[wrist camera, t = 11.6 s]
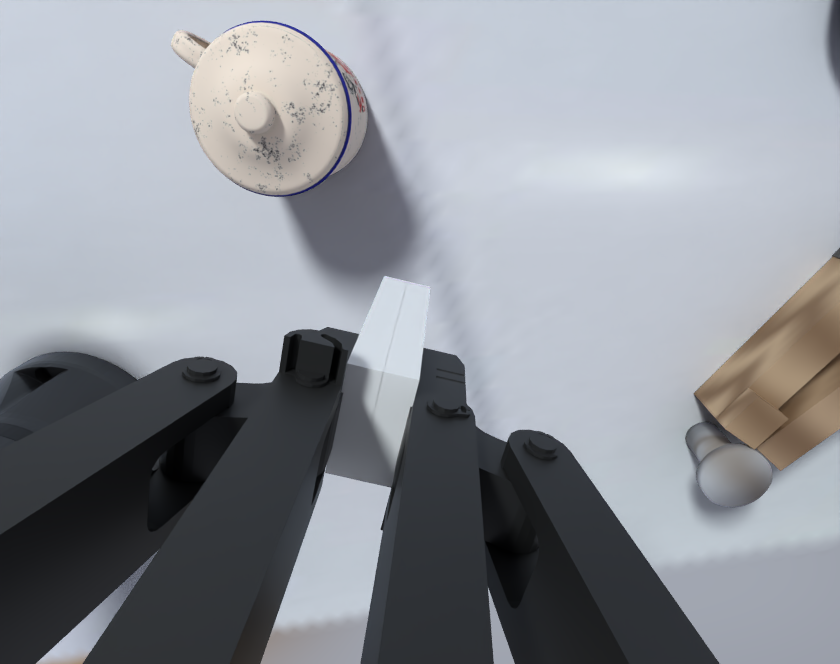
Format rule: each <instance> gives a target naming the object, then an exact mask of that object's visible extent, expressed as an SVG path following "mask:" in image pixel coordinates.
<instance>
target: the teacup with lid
mask: <svg viewBox="0 0 840 664" xmlns="http://www.w3.org/2000/svg"><path fill="white" fill-rule="evenodd" d="M171 47H172V49H173V50H174V52H175V53H176V54H177V55H178V56H179V57H180V58H181V59H183V60H184V61H185V62H186V63H188V64H189V65H191V66H192V67H193V68H195V70H194V73H193V76H192V80H191V85H190V93H189V107H190V115H191V121H192V125H193V128H194V131H195V134H196V137H197V139H198V141H199V143H200V146H201V147H202V149H203V151H204V153H205V154H206V155H207V157H208V158H209V160H210V161H211V162H212V163H213V165H214V166H215V167H216V168H217V169H218V170H219V171H220V172H221V173H222V174H223V175H225V176H226V177H227V178H228V179H230V180H231V181H232V182H234V183H235V184H237V185H239V186H240V187H242V188H244V189H246V190H249V191H251V192H254V193H257V194H261V195H266V196H274V197H284V196H292V195H296V194H300V193H303V192H306V191H308V190H310V189H312V188H314V187H315V186H317V185H319V184H320V183H321V182H323V181H324V180H325V179H326V178H327V177H328V176H330V175H332V174H334V173H336V172H338V171H340V170H341V169H343V168H344V167H345V166H346V165H348V164H349V163H350V162H351V161H352V159H353V158H354V157H355V156H356V154H357V153H358V151H359V149H360V147H361V145H362V143H363V140H364V137H365V134H366V129H367V118H368V114H367V105H366V100H365V96H364V93H363V90H362V88H361V86H360V83H359V82H358V80H357V78H356V76H355V75H354V74H353V72H352V71H351V70H350V68H349V67H348V66H347V65H346V64H345V63H344V62H343V61H342V60H340V59H339V58H338V57H336V56H335V55H333V54H332V53H330V52H328V51H326V50H325V49H324V48H323V47H322V46H321V45H320V44H319V43H318V42H316V41H315V40H314V39H313V38H311V37H310V36H308V35H307V34H305V33H304V32H302V31H300V30H298V29H296V28H294V27H291V26H289V25H286V24H282V23H278V22H272V21H253V22H247V23H243V24H240V25H237V26H235V27H233V28H230V29H229V30H227V31H225V32H224V33H222V34H221V35H220V36H218V37H217V38H216V39H215V40H214V41H213V42H212V43H210V42H208V41H206V40H204V39H203V38H201V37H199V36H197V35H194V34H192V33H190V32H187V31H184V30H179V31H177V32H176V33H175V34H174V36H173V39H172V41H171Z"/></svg>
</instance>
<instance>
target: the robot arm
mask: <svg viewBox="0 0 840 664" xmlns="http://www.w3.org/2000/svg"><path fill="white" fill-rule="evenodd" d="M430 288H431V287H429V286H425V285H421V284H417V283H412V282H408V281H404V280H400V279H396V278H391V277H387V276H384V278H383V280H382V282H381V285H380V287H379V289H378V292H377V294H376V296H375V299H374V301H373V303H372V306H371V308H370V311H369V313H368V315H367V318H366V320H365V322H364V325H363V327H362V329H361V332H360V334H356V333H351V332H347V331H343V330H338V329H334V328H330V327H326V328H324V329H322V330H320V331H318V330H312V329H309V330H296V331H292V332H289V333H288V334H286V335H285V336H284V342H283V349H282V355H281V362H280V369H279V373H278V374H277V376H276V377H275V379H274V380H273V381H272V382H271V383H263V384H251V383H236V382H237V371H236V370H235V369H234V368H233V367H232V366H231V365H229V364H227V363H225V362H223V361H220V360H216V359H213V358H209V357H205V358H204V357H195V358H185V359H181V360H178V361H175V362H173V363H171V364H169V365H167V366H165V367H163V368H161V369H159V370H157V371H155V372H153V373H151V374H149V375H147V376H145V377H143V378H141V379H139V380H136V379H135V378H133V377H132V376H131V375H129V374H128V373H127V372H125V371H124V370H122V369H120V368H119V367H117V366H115V365H113V364H111V363H109V362H107V361H105V360H102V359H100V358H97V357H94V356H90V355H86V354H81V353H74V352H55V353H48V354H44V355H40V356H37V357H35V358H33V359H31V360H29V361H27V362H25V363H23V364H22V365H20V366H18V367H17V368H15V369H13V370H11V371H10V372H8V373H7V374H6V375H4V376H3V377H2V378H1V379H0V664H36V663H37V662H38V661H39V660H40V659H41V658H42V657H43V656H44V655H45V654H46V653H48V652H49V651H50V650H51V649H52V648H53V647H54V646H55V645H56V644H57V643H58V642H59V641H60V640H62V639H63V638H64V637H65V636H66V635H67V634H68V633H69V632H70V631H71V630H72V629H73V628H75V627H76V626H77V625H78V624H79V623H80V622H81V621H82V620H83V619H84V618H85V617H86V616H87V615H89V614H90V613H91V612H92V611H93V610H94V609H95V608H96V607H97V606H98V605H99V604H100V603H102V602H103V601H104V600H105V599H106V598H107V597H108V596H109V595H110V594H111V593H112V592H113V591H114V590H116V589H117V588H118V587H119V586H120V585H121V584H122V583H123V582H124V581H125V580H126V579H127V578H128V577H130V576H131V575H132V574H133V573H134V572H135V571H136V570H137V569H138V568H139V567H140V566H141V565H143V564H144V563H145V562H146V561H147V560H148V559H149V558H150V557H151V556H152V555H153V554H154V553H155V552H157V551H158V550H159V551H158V552H157V554H156V555H155V557H154V558H153V560H152V561H151V563H150V564H149V566H148V567H147V569H146V570H145V572H144V573H143V575H142V576H141V578H140V579H139V581H138V582H137V584H136V585H135V587H134V588H133V590H132V591H131V593H130V594H129V596H128V597H127V598H126V600H125V601H124V603H123V604H122V606H121V607H120V609H119V610H118V612H117V613H116V615H115V616H114V618H113V619H112V621H111V622H110V624H109V625H108V627H107V628H106V630H105V631H104V633H103V634H102V636H101V637H100V639H99V640H98V642H97V643H96V645H95V646H94V648H93V649H92V651H91V652H90V653H89V655H88V656H87V658H86V659H85V661H84V662H83V664H260V663H261V660H262V657H263V654H264V651H265V648H266V645H267V643H268V640H269V637H270V634H271V631H272V628H273V625H274V623H275V620H276V617H277V614H278V611H279V608H280V605H281V602H282V599H283V597H284V594H285V591H286V588H287V585H288V582H289V579H290V576H291V574H292V571H293V568H294V565H295V562H296V559H297V556H298V553H299V550H300V548H301V545H302V542H303V539H304V536H305V533H306V530H307V527H308V525H309V522H310V519H311V516H312V513H313V510H314V507H315V504H316V501H317V499H318V496H319V493H320V490H321V487H322V482H323V477H324V472H325V467H326V465H327V467H326V472H325V473H329V474H333V475H338V476H342V477H347V478H351V479H355V480H360V481H364V482H369V483H373V484H378V485H382V486H387V487H391V492H390V495H389V499H388V503H387V507H386V511H385V515H384V519H383V523H382V526H381V530H383V534H382V539H381V545H380V551H379V557H378V563H377V569H376V575H375V581H374V587H373V593H372V599H371V605H370V611H369V616H368V622H367V628H366V635H365V640H364V646H363V653H362V658H361V664H494V662H493V649H492V636H491V624H490V623H491V622H490V610H489V596H488V588H489V591H490V594H491V596H492V599H493V602H494V605H495V608H496V611H497V613H498V616H499V619H500V622H501V625H502V628H503V631H504V634H505V637H506V639H507V642H508V645H509V648H510V651H511V654H512V656H513V659H514V662H515V664H719V662H718V661H717V659H716V658H715V657H714V655H713V654H712V652H711V651H710V650H709V648H708V647H707V645H706V644H705V643H704V641H703V640H702V638H701V637H700V635H699V634H698V632H697V631H696V629H695V628H694V627H693V625H692V624H691V622H690V621H689V620H688V618H687V617H686V615H685V614H684V612H683V611H682V610H681V608H680V607H679V605H678V604H677V602H676V601H675V600H674V598H673V597H672V595H671V594H670V592H669V591H668V590H667V588H666V587H665V585H664V584H663V583H662V581H661V580H660V578H659V577H658V575H657V574H656V573H655V571H654V570H653V568H652V567H651V565H650V564H649V563H648V561H647V560H646V558H645V557H644V555H643V554H642V553H641V551H640V550H639V548H638V547H637V546H636V544H635V543H634V541H633V540H632V538H631V537H630V536H629V534H628V533H627V531H626V530H625V528H624V527H623V526H622V524H621V523H620V521H619V520H618V518H617V517H616V516H615V514H614V513H613V511H612V510H611V509H610V507H609V506H608V504H607V503H606V501H605V500H604V499H603V497H602V496H601V494H600V493H599V491H598V490H597V489H596V487H595V486H594V484H593V483H592V481H591V480H590V479H589V477H588V476H587V474H586V473H585V472H584V470H583V469H582V467H581V466H580V464H579V463H578V462H577V460H576V459H575V457H574V456H573V454H572V453H571V452H570V451H569V449H568V448H567V447H566V446H565V445H564V444H563V443H561V442H559V441H558V440H556V439H555V438H554V437H552V436H550V435H548V434H545V433H543V432H540V431H532V430H517V431H515V432H513V433H511V435H510V437H509V438H508V441H507V442H504V441H502V440H500V439H497V438H495V437H493V436H491V435H489V434H487V433H485V432H483V431H482V430H480V429H479V428H477V427H476V424H475V415H474V413H473V411H472V409H471V408H470V407H469V406H468V405H467V404H466V385H465V367H464V364H463V363H462V362H461V361H460V359H459V358H458V357H457V356H456V355H452V354H447V353H443V352H439V351H435V350H430V349H426V348H423V346H424V338H425V330H426V321H427V313H428V305H429V296H430Z"/></svg>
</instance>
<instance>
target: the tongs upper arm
mask: <svg viewBox="0 0 840 664" xmlns="http://www.w3.org/2000/svg"><path fill="white" fill-rule="evenodd" d="M832 256H833V257H832V258H831V259H830V260H829V261H828V262H827V263H826V264H825V265H824V266H823V267H822V268H821V269H820V270H819V271H818V272H817V273H816V274H815V275H814V276H813V277H812V278H811V279H810V280H809V281H808V282H807V283H806V284H805V285H804V286H803V287H802V288H801V289H799V290H798V291H797V292H796V293H795V294H794V295H793V296H792V297H791V298H790V299H789V300H788V301H787V302H786V303H785V304H784V305H783V306H782V307H781V308H780V309H779V310H778V311H777V312H776V313H775V314H774V315H773V316H772V317H771V318H770V319H769V320H768V321H767V322H766V323H765V324H764V325H763V326H762V327H761V328H760V329H759V330H758V331H757V332H756V333H755V334H754V335H753V336H752V337H751V338H750V339H749V340H748V341H747V342H746V343H745V344H744V345H743V346H742V347H741V348H740V349H738V350H737V351H736V352H735V353H734V354H733V355H732V356H731V357H730V358H729V359H728V360H727V361H726V362H725V363H724V364H723V365H722V366H721V367H720V368H719V369H718V370H717V371H716V372H715V373H714V374H713V375H712V376H711V377H710V378H709V379H708V380H707V381H706V382H705V383H704V384H703V385H702V386H701V387H700V388H699V389H698V390H697V391H696V392H695V393H694V395H695V396H696V397H697V398H698V399H699V400H700V401H701V402H702V404H703V405H704V406H705V407H706V408H707V409H708V410H709V411H710V413H711V414H712V415H713V416H714V417H715V418H716V419H717V421H718V422H719V423H720V424H721V425H722V426H723V427H724V428H725V429H726V430H727V431H729V432H730V433H732V434H733V435H734V436H736V437H737V438H739V439H740V440H742V441H743V442H744V443H746V444H747V445H745V444H727V445H723V446H720V447H718V448H716V449H714V450H712V451H711V452H709V453H708V454H707V455H706V456H705V457H704V458H703V459H702V461H701V462H700V464H699V466H698V468H697V472H696V478H697V483H698V485H699V487H700V488H701V489H702V491H703V492H704V494H705V495H706V497H707V498H708V499H709V500H710V501H712V502H713V503H715V504H717V505H720V506H724V507H739V506H743V505H747V504H749V503H752V502H754V501H755V500H757V499H758V498H760V497H761V496H762V495H763V494H764V493H765V492H766V491H767V489H768V488H769V486H770V484H771V481H772V468H771V466H770V464H769V462H768V461H767V460H766V459H765V458H764V457H763V456H762V455H761V453H760V452H759V451H757V450H756V448H757V447H758V446H759V445H760V444H761V443H762V442H763V441H765V440H766V439H767V438H768V437H769V436H770V435H771V434H772V433H773V432H775V431H776V430H777V429H778V428H779V427H780V426H781V425H782V424H784V423H785V422H786V421H787V420H788V418H787V417H786V416H785V415H784V414H783V413H782V412H780V411H779V410H778V409H779V408H780V407H781V406H782V405H783V404H784V403H785V402H786V401H787V400H788V399H790V398H791V397H792V396H793V395H794V394H795V393H796V392H797V391H798V390H799V389H801V388H802V387H803V386H804V385H805V384H806V383H807V382H808V381H809V380H810V379H812V378H813V377H814V376H815V375H816V374H817V373H818V372H819V371H820V370H821V369H823V368H824V367H825V366H826V365H827V364H828V363H829V362H830V361H831V360H833V359H834V358H835V357H836V356H837V355H838V354H839V353H840V248H839V249H838V250H837V251H836V252H835V253H834V254H833V255H832Z"/></svg>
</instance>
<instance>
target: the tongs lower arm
mask: <svg viewBox="0 0 840 664" xmlns="http://www.w3.org/2000/svg"><path fill="white" fill-rule="evenodd" d="M778 410H779V411H780V412H782V413H783V414H784V415H785V416H786V417H787V418H788V420H787V421H786V422H785V423H784V424H782V425H781V426H780V427H779V428H778V429H777V430H776V431H775V432H773V433H772V434H771V435H770V436H769V437H768V438H767V439H766V440H765V441H763V442H762V443H761V444H760V445H759V446H758V447H757V448H756V449H758V450H759V451H760V452H761V453H762V454H763V455H764V456H765V457H766V458H767V459H768V460H769V461H770V462H772V463H773V464H774V465H775V466H776V467H777V468H778V469H779V470H780V471H781V470H782V469H784V468H785V467H787V466H788V465H790V464H791V463H792V462H794V461H795V460H797V459H798V458H799V457H801V456H802V455H804V454H805V453H806V452H808V451H809V450H811V449H812V448H813V447H815V446H816V445H818V444H819V443H820V442H822V441H823V440H825V439H826V438H828V437H829V436H830V435H832V434H833V433H835V432H836V431H837V430H839V429H840V353H839V354H838V355H837V356H836V357H835V358H834V359H833V360H831V361H830V362H829V363H828V364H827V365H826V366H825V367H824V368H823V369H821V370H820V371H819V372H818V373H817V374H816V375H815V376H814V377H813V378H812V379H810V380H809V381H808V382H807V383H806V384H805V385H804V386H803V387H802V388H801V389H799V390H798V391H797V392H796V393H795V394H794V395H793V396H792V397H791V398H790V399H788V400H787V401H786V402H785V403H784V404H783V405H782V406H781V407H780V408H779V409H778ZM685 439H686V443H687V445H688V446H689V448H690V449H691V450H692V452H693V453H694V455H695V456H696V457H697V459H698V460H699V462H701V461H702V459H703V458H704V457H705V456H706V455H707V454H708V453H709V452H711V451H712V450H714V449H716V448H718V447H720V446H723V445H727V444H732V443H731V442H730V441H729V440H728V439H727V438H726V437H725V435H724V434H723V433H722V432H721V431H720V430H719V428H718V427H717V426H716V425H714V424H712V423H709V422H702V423H698V424H696V425H694V426H692V427H691V428H690V429H689V430H688V432H687V434H686V438H685Z"/></svg>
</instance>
